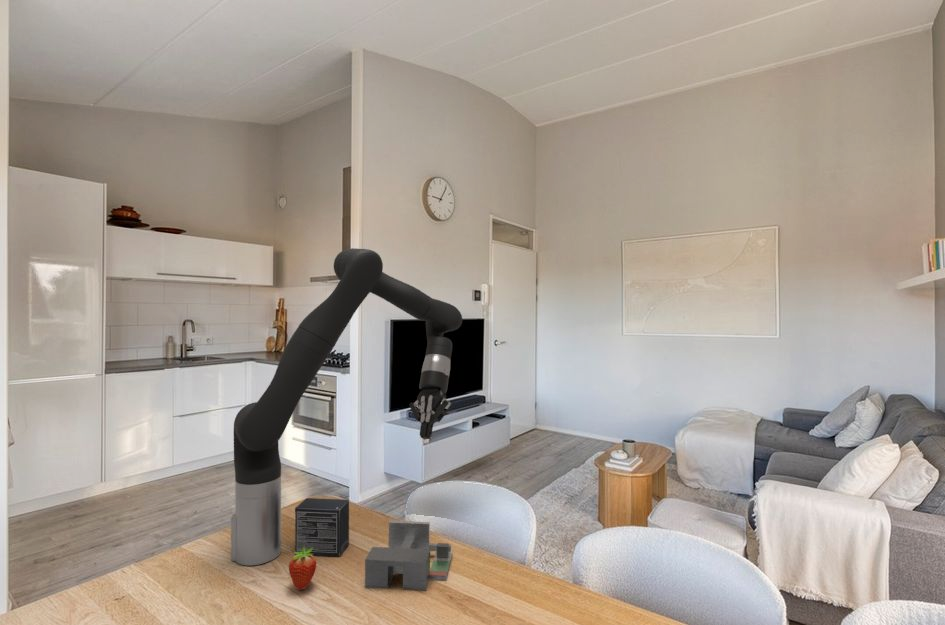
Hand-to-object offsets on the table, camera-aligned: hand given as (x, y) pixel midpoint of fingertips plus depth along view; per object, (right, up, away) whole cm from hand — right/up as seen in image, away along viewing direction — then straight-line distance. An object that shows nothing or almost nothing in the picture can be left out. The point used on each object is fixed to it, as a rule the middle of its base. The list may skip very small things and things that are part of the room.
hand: (425, 438), depth 122 cm
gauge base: (-1, -22, -22) cm, 31 cm away
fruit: (-21, -22, -28) cm, 42 cm away
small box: (-22, -22, -13) cm, 34 cm away
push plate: (0, -22, -21) cm, 30 cm away
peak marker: (+6, -21, -18) cm, 28 cm away
